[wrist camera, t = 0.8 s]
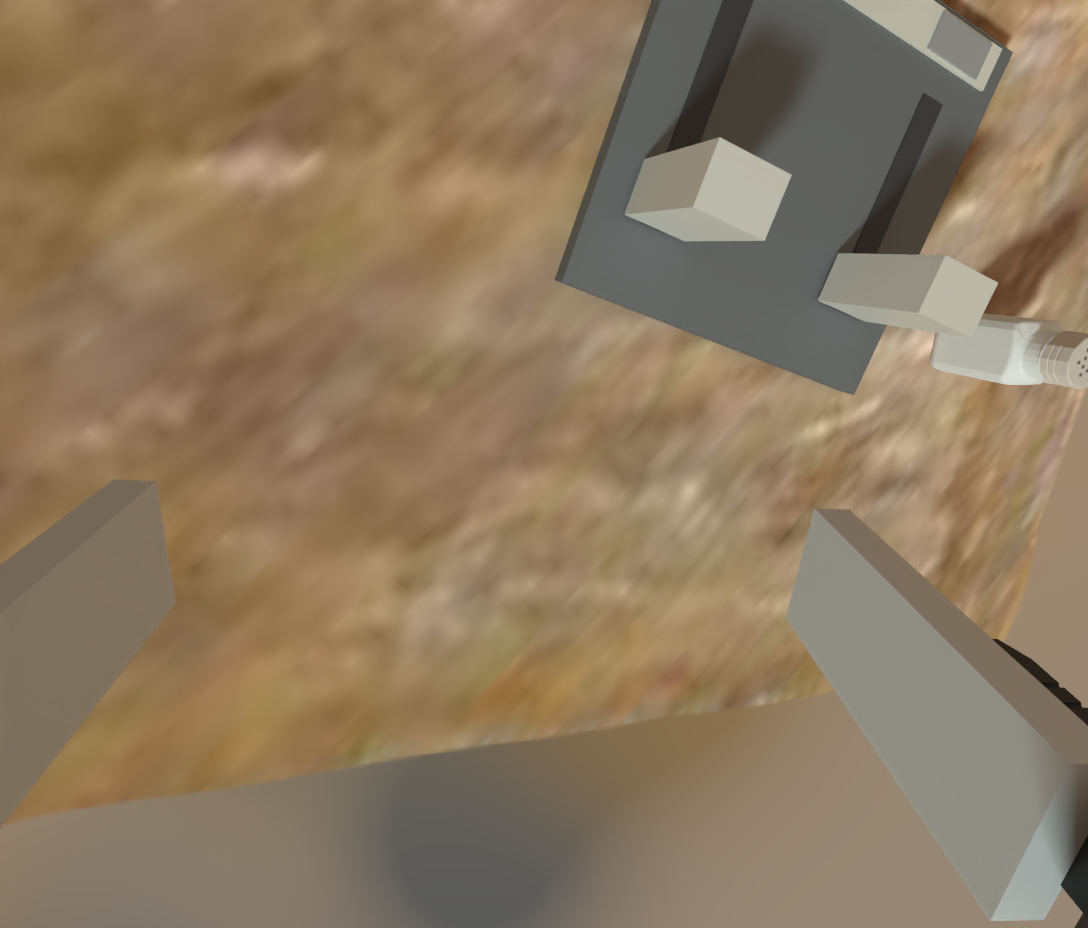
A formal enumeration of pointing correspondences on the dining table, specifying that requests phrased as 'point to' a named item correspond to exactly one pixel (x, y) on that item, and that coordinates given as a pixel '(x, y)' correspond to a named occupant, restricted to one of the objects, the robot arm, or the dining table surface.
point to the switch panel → (786, 162)
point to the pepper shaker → (1016, 352)
